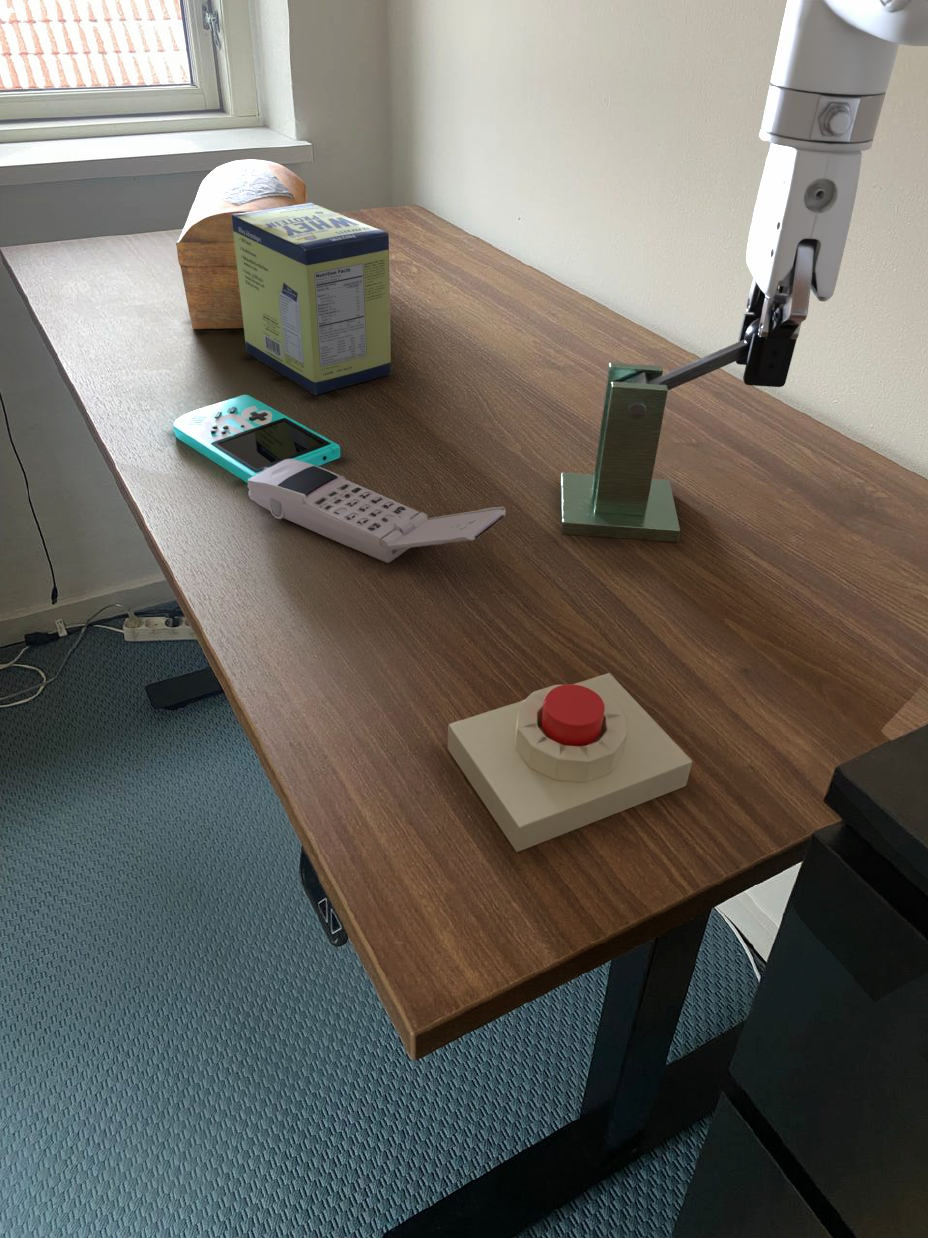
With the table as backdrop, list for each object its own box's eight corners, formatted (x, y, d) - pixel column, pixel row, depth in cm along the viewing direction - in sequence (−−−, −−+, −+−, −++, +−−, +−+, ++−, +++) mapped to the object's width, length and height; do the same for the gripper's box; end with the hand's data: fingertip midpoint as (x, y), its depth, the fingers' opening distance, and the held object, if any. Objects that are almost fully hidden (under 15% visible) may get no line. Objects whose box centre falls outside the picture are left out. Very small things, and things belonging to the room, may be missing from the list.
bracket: (667, 490, 86) (693, 358, 79) (677, 542, 79) (707, 402, 71) (560, 483, 87) (575, 350, 79) (561, 534, 80) (577, 394, 72)
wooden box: (319, 329, 116) (312, 212, 108) (184, 330, 114) (166, 210, 106) (320, 258, 140) (315, 157, 131) (208, 257, 138) (195, 155, 129)
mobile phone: (470, 540, 68) (220, 437, 78) (464, 605, 71) (226, 499, 81) (512, 507, 72) (270, 414, 82) (504, 570, 75) (274, 473, 85)
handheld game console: (249, 403, 98) (248, 391, 97) (345, 456, 90) (344, 443, 89) (165, 430, 92) (163, 418, 92) (258, 490, 84) (256, 477, 83)
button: (580, 698, 57) (583, 677, 56) (612, 736, 55) (616, 714, 54) (530, 715, 56) (532, 694, 55) (561, 754, 54) (564, 732, 53)
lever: (790, 340, 74) (777, 302, 73) (799, 356, 72) (786, 316, 70) (625, 411, 79) (609, 377, 77) (627, 429, 76) (612, 394, 75)
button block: (605, 696, 63) (613, 651, 61) (686, 786, 57) (698, 740, 54) (447, 749, 59) (448, 702, 56) (516, 853, 52) (521, 805, 50)
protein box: (318, 334, 115) (310, 200, 105) (393, 375, 105) (392, 232, 96) (243, 352, 109) (228, 212, 100) (315, 397, 100) (306, 247, 90)
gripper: (913, 144, 57) (830, 421, 68) (844, 101, 70) (784, 339, 81) (789, 137, 57) (726, 415, 68) (744, 96, 70) (698, 334, 81)
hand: (758, 371), depth 74 cm, fingers closed on lever, 3 cm apart
